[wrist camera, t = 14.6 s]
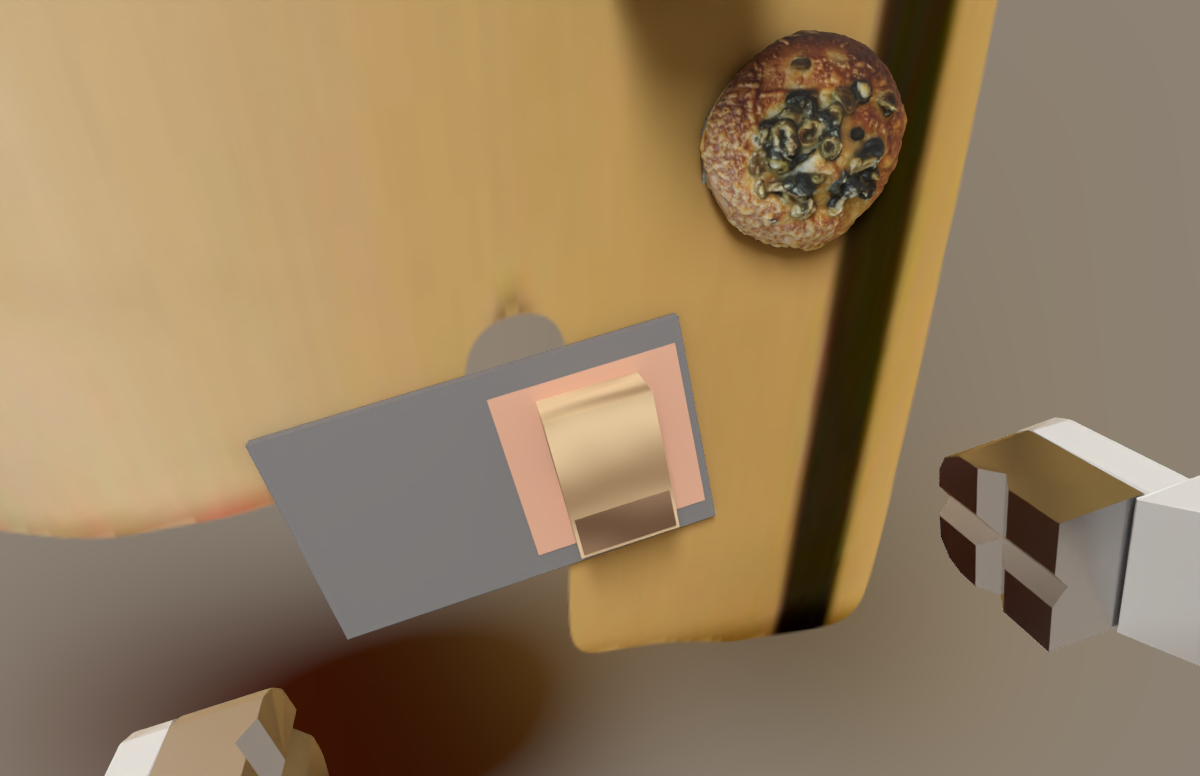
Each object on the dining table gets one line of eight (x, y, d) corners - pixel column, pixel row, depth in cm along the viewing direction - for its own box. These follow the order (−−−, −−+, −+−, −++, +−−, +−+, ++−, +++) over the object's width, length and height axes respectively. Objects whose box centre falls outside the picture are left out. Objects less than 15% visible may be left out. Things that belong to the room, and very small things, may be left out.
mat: (348, 632, 42) (347, 640, 41) (248, 440, 36) (245, 447, 35) (711, 510, 45) (716, 516, 44) (674, 312, 39) (678, 316, 38)
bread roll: (884, 3, 35) (947, 8, 30) (879, 211, 41) (930, 239, 37) (676, 57, 34) (712, 70, 30) (702, 261, 40) (735, 296, 36)
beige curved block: (535, 401, 38) (543, 426, 35) (637, 371, 39) (653, 393, 36) (571, 529, 42) (582, 560, 39) (663, 499, 43) (680, 528, 40)
